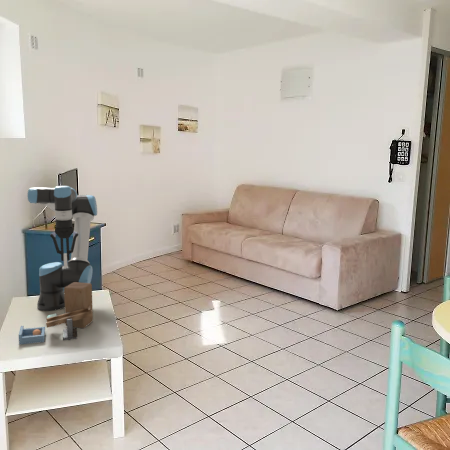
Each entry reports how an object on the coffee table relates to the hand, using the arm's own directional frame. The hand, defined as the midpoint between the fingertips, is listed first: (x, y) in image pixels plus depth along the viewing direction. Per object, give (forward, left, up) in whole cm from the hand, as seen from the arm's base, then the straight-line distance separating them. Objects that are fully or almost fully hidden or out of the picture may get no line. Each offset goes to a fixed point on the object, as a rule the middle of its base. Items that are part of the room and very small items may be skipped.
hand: (65, 267), depth 229 cm
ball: (+15, -13, -26) cm, 33 cm away
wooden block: (+3, +5, -29) cm, 29 cm away
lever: (+12, +1, -21) cm, 24 cm away
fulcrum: (+15, +1, -28) cm, 32 cm away
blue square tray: (+15, -15, -28) cm, 36 cm away
